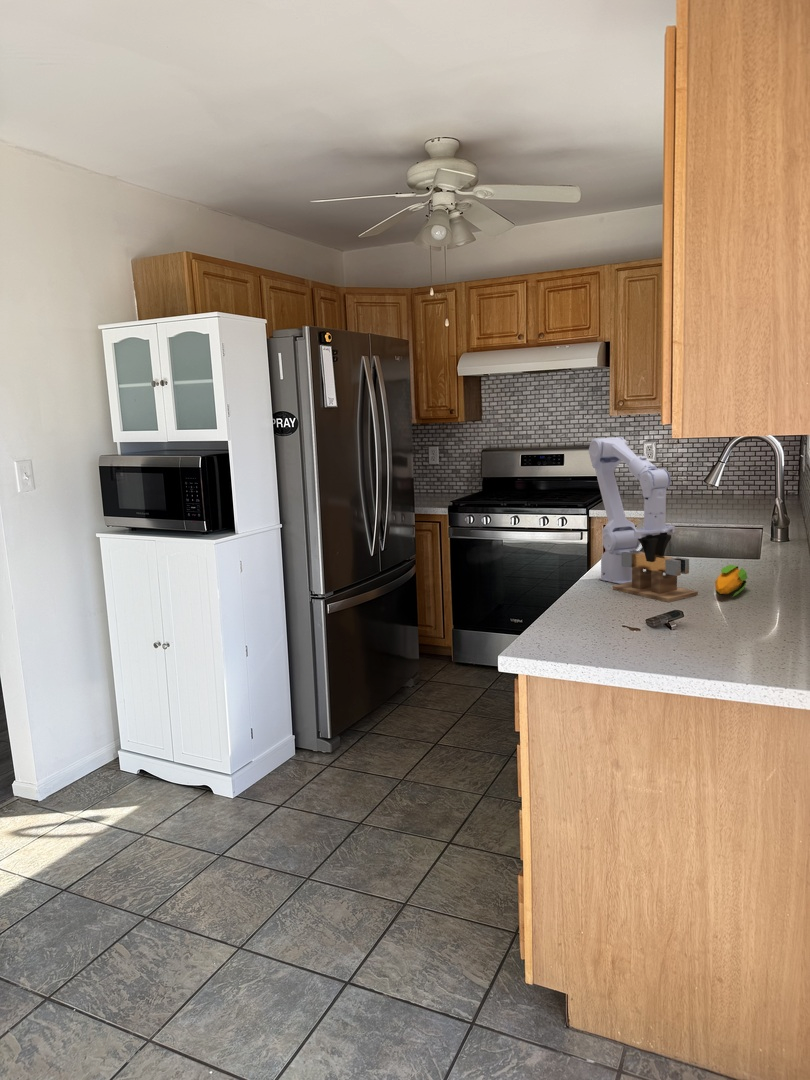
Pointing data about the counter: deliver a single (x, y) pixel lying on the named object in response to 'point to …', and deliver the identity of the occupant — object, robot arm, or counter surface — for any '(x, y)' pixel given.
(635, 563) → the spanner
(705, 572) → the counter surface
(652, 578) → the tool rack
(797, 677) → the counter surface
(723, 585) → the corn
